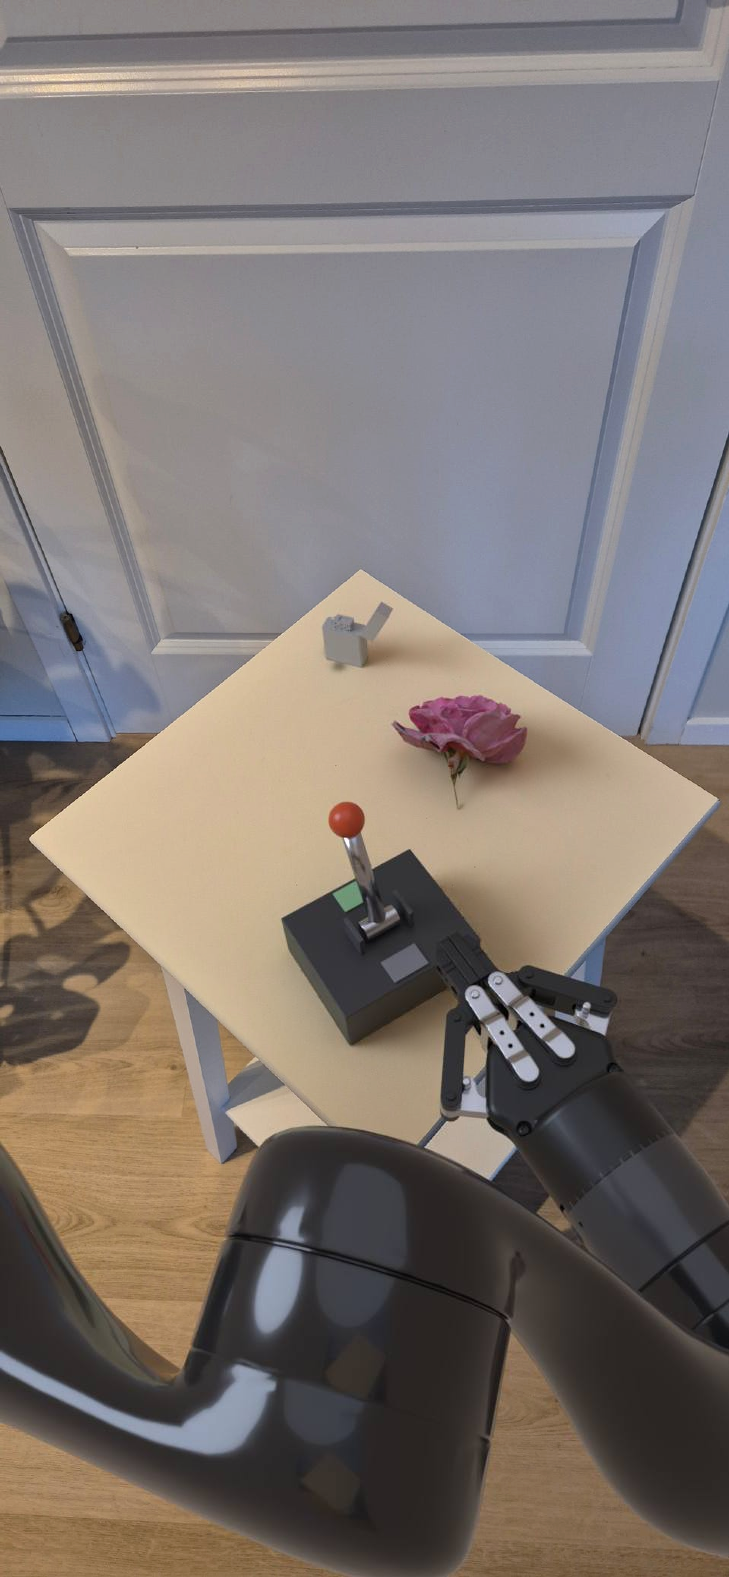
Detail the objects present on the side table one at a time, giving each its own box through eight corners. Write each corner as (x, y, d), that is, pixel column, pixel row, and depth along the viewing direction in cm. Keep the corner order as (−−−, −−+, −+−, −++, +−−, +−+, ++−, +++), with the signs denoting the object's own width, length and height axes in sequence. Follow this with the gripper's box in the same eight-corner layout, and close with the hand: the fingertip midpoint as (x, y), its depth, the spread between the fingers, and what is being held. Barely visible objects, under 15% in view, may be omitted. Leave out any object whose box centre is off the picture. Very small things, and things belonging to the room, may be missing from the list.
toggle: (372, 948, 75) (331, 822, 69) (357, 931, 77) (315, 807, 71) (406, 929, 76) (368, 803, 70) (389, 912, 78) (351, 788, 72)
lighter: (324, 658, 102) (317, 599, 96) (331, 647, 103) (324, 587, 97) (389, 674, 100) (387, 614, 94) (395, 662, 101) (393, 603, 95)
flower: (422, 741, 99) (468, 655, 95) (498, 801, 95) (551, 713, 91) (355, 755, 90) (403, 660, 85) (437, 822, 86) (491, 726, 81)
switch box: (350, 1046, 77) (343, 1006, 71) (287, 948, 82) (277, 904, 76) (478, 969, 80) (482, 926, 74) (410, 880, 85) (409, 834, 80)
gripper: (734, 1092, 53) (534, 861, 62) (533, 1233, 49) (352, 965, 58) (703, 1139, 59) (524, 922, 68) (521, 1268, 55) (358, 1019, 64)
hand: (445, 942), depth 63 cm, fingers closed
